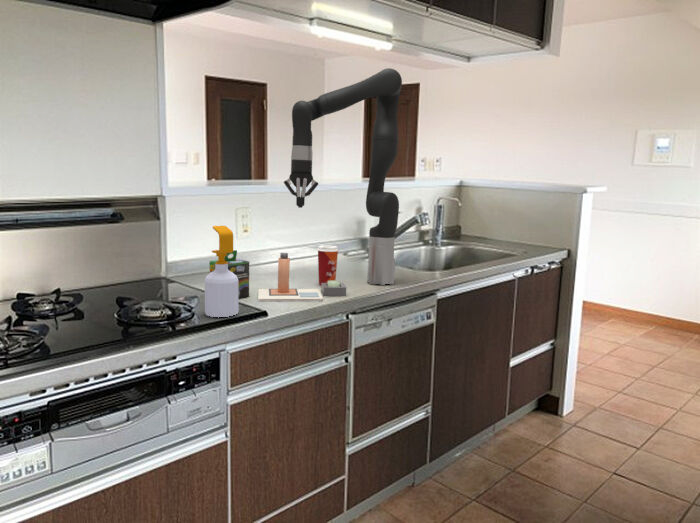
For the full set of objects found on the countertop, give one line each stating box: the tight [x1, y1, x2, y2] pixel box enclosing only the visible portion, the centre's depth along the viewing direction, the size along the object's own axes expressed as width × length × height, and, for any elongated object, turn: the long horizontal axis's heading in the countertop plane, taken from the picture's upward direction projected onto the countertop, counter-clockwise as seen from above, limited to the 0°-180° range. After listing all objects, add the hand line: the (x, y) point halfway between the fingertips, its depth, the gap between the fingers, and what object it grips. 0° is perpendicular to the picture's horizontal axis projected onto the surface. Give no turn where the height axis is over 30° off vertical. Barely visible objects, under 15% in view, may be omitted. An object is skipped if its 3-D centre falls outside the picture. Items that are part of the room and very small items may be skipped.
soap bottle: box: [204, 225, 239, 319], centre depth 157 cm, size 9×9×25 cm
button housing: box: [320, 282, 347, 297], centre depth 189 cm, size 7×7×3 cm
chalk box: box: [209, 249, 250, 299], centre depth 180 cm, size 9×9×15 cm
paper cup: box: [316, 244, 340, 285], centre depth 201 cm, size 8×8×14 cm
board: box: [257, 288, 324, 302], centre depth 184 cm, size 20×14×1 cm
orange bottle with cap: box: [277, 252, 291, 293], centre depth 184 cm, size 4×4×13 cm
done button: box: [328, 279, 341, 287], centre depth 189 cm, size 4×4×4 cm
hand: (300, 207), depth 207 cm, fingers closed
